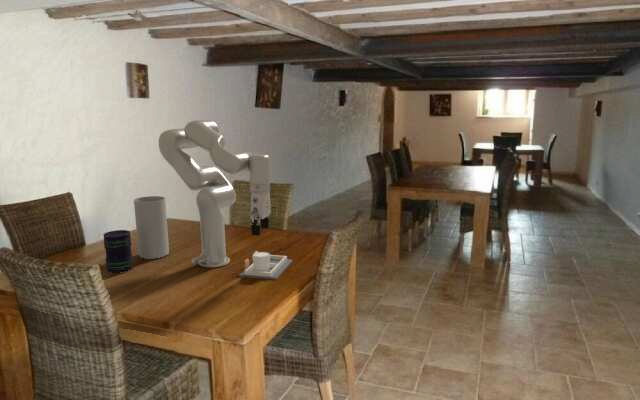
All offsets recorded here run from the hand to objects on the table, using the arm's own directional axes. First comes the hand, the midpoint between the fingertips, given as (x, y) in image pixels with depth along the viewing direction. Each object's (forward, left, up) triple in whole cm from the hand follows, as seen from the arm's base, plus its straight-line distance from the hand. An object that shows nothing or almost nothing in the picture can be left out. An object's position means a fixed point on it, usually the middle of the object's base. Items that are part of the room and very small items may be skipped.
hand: (260, 231), depth 178 cm
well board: (+4, +2, -17) cm, 17 cm away
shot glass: (-1, -1, -16) cm, 16 cm away
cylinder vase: (-18, +51, -17) cm, 57 cm away
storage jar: (-36, +44, -17) cm, 59 cm away
